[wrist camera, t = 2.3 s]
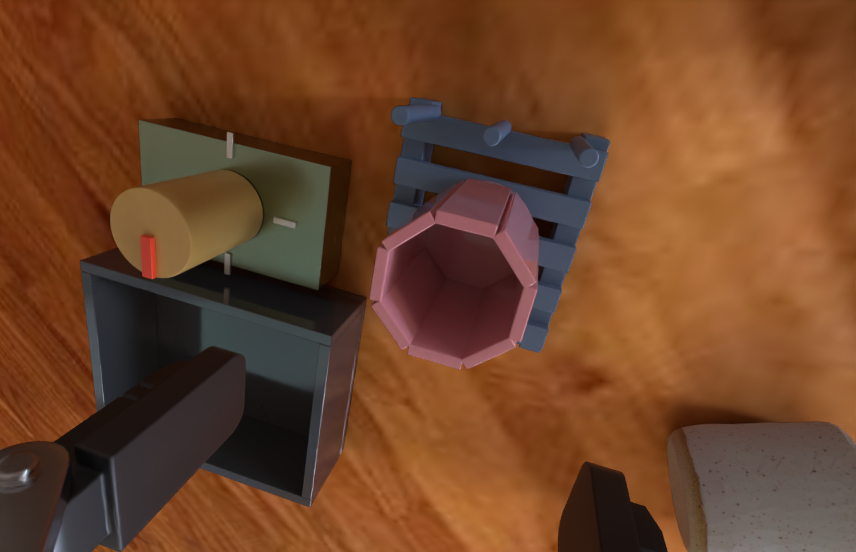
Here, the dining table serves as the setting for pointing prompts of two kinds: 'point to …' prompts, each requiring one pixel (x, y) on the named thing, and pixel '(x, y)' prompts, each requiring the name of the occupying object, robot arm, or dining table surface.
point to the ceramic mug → (764, 487)
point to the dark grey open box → (245, 334)
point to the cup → (459, 275)
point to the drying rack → (499, 142)
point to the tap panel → (262, 195)
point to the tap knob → (184, 221)
